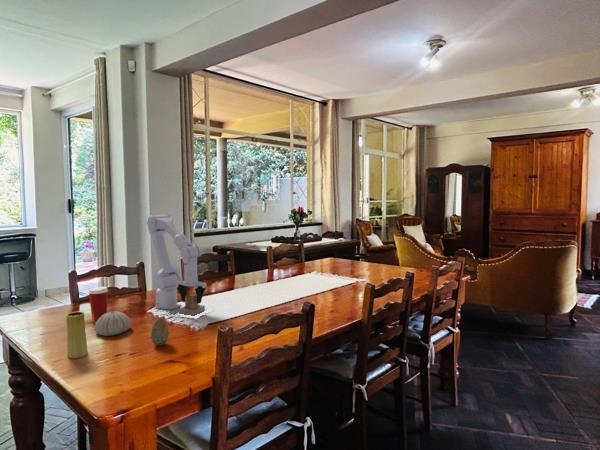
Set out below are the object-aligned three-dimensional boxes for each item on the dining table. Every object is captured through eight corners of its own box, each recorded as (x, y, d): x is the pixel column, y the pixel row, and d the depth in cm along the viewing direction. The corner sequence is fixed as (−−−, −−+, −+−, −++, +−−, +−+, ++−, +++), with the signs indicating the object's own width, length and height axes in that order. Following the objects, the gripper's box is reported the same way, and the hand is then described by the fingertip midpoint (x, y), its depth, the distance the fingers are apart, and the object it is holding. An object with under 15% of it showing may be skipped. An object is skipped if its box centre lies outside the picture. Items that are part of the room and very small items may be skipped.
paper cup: (113, 318, 177) (112, 287, 175) (99, 324, 169) (97, 291, 168) (99, 317, 179) (97, 285, 178) (85, 322, 172) (83, 289, 171)
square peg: (185, 313, 182) (184, 296, 181) (190, 311, 186) (190, 293, 185) (193, 314, 181) (192, 296, 180) (198, 311, 184) (197, 294, 184)
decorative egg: (152, 349, 142) (150, 321, 141) (150, 343, 148) (149, 316, 147) (169, 346, 145) (168, 319, 144) (168, 340, 150) (166, 314, 149)
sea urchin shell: (96, 340, 151) (95, 319, 151) (92, 330, 163) (91, 310, 162) (134, 333, 158) (133, 313, 158) (128, 324, 170) (127, 305, 169)
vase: (72, 351, 141) (70, 311, 139) (91, 351, 141) (88, 310, 140) (63, 359, 135) (61, 316, 133) (83, 358, 135) (80, 316, 134)
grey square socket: (169, 317, 180) (169, 310, 179) (188, 309, 193) (188, 301, 192) (196, 321, 175) (196, 313, 174) (214, 311, 188) (214, 304, 187)
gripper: (171, 273, 181) (172, 303, 182) (199, 275, 176) (200, 306, 177) (181, 270, 187) (182, 299, 188) (208, 272, 182) (209, 301, 184)
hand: (191, 302), depth 183 cm, fingers open, 7 cm apart
